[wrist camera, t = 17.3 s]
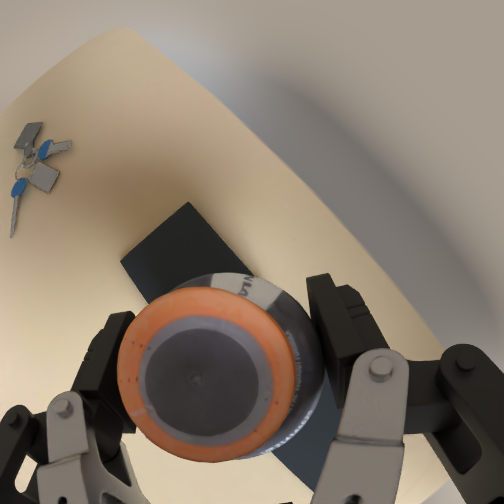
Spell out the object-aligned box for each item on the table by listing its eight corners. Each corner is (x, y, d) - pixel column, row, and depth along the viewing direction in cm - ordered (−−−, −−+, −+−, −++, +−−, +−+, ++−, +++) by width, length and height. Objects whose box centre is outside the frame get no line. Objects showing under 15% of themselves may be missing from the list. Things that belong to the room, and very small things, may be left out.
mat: (400, 436, 15) (402, 438, 14) (323, 498, 14) (324, 501, 14) (190, 203, 20) (188, 201, 20) (122, 262, 20) (119, 261, 19)
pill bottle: (237, 285, 18) (169, 193, 7) (327, 339, 16) (399, 328, 6) (181, 370, 17) (47, 390, 6) (268, 427, 15) (241, 541, 5)
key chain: (17, 135, 25) (13, 131, 25) (73, 95, 26) (69, 90, 25) (13, 241, 21) (7, 238, 20) (80, 197, 21) (74, 192, 21)
